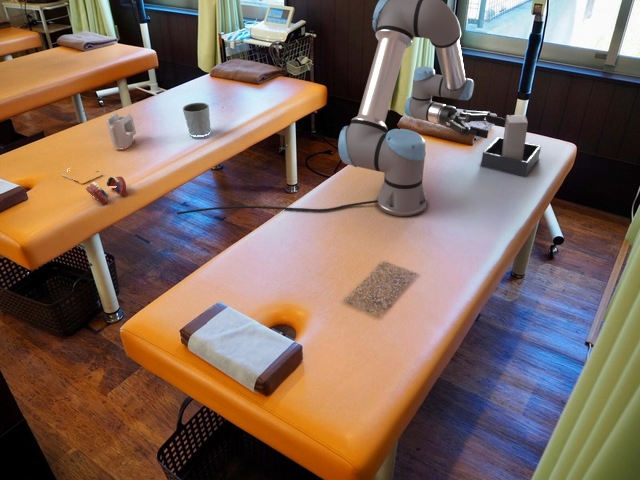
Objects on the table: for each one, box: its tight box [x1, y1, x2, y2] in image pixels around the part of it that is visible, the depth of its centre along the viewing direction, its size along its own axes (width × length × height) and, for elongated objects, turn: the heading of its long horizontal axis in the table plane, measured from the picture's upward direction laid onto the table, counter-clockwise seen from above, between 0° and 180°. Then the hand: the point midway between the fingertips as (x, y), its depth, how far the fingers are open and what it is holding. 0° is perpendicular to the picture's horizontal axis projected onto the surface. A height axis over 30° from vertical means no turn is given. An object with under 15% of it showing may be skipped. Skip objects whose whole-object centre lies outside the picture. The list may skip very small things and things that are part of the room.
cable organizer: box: [106, 112, 137, 151], centre depth 208 cm, size 7×12×12 cm, turn 169°
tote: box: [480, 136, 542, 178], centre depth 189 cm, size 16×16×5 cm
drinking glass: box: [182, 102, 212, 140], centre depth 214 cm, size 10×10×12 cm
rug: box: [344, 260, 417, 317], centre depth 134 cm, size 10×20×1 cm, turn 145°
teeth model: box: [85, 176, 127, 205], centre depth 176 cm, size 8×6×12 cm
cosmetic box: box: [501, 114, 529, 160], centre depth 186 cm, size 8×7×16 cm
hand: (496, 128), depth 188 cm, fingers open, 13 cm apart
